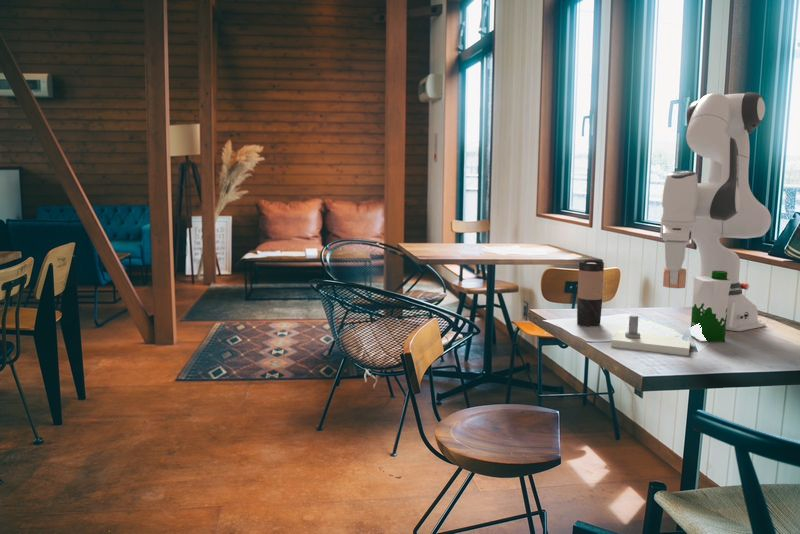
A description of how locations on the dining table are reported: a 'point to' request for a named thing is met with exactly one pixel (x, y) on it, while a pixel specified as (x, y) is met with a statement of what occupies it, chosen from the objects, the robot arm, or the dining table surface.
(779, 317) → the dining table surface
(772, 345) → the dining table surface
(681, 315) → the dining table surface
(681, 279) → the cap
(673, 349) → the post board
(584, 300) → the travel mug
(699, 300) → the milk carton
